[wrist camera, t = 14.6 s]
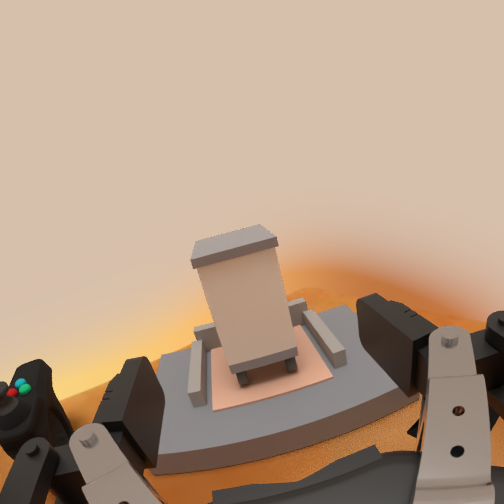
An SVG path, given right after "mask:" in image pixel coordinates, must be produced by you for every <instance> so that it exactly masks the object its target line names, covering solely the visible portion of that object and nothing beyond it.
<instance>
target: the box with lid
mask: <svg viewBox="0 0 504 504" xmlns="http://www.w3.org/2000/svg"><path fill="white" fill-rule="evenodd" d="M277 246H278V242H277V237H276V236H275V235H274V234H272V233H271V232H270V231H268V230H266V229H265V228H264V227H263V226H261V225H260V224H259V225H255V226H251V227H248V228H243V229H240V230H236V231H232V232H229V233H225V234H221V235H217V236H214V237H210V238H206V239H202V240H199V241H196V242H195V246H194V249H193V253H192V256H191V263H192V266H193V269H195V268H197V270H198V274H199V277H200V280H201V283H202V287H203V290H204V293H205V296H206V300H207V303H208V305H209V309H210V311H211V315H212V318H213V321H214V324H215V327H216V330H217V333H218V336H219V339H220V342H221V345H222V348H223V351H224V354H225V356H226V359H227V362H228V365H229V368H230V371H231V373H232V374H235V373H236V376H237V379H238V382H239V385H240V386H242V385H246V384H249V380H248V376H247V372H246V371H247V370H250V369H254V368H258V367H261V366H265V365H269V364H272V363H275V362H279V361H282V360H284V362H285V366H286V368H287V371H288V372H292V371H295V370H298V368H297V363H296V359H295V356H298V350H297V345H296V340H295V336H294V331H293V326H292V322H291V317H290V312H289V308H288V303H287V298H286V294H285V289H284V285H283V280H282V276H281V272H280V267H279V263H278V258H277V254H276V250H275V247H277Z"/></svg>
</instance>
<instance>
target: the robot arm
mask: <svg viewBox="0 0 504 504" xmlns="http://www.w3.org/2000/svg"><path fill="white" fill-rule="evenodd" d="M356 308H357V318H358V330H359V338H360V342H361V344H362V346H363V348H364V349H365V351H366V352H367V353H368V354H369V355H370V356H371V357H372V358H373V359H374V360H375V361H376V363H377V364H378V365H379V366H380V367H381V368H382V369H383V370H384V371H385V372H386V374H387V375H388V376H389V377H390V378H391V379H392V380H393V381H394V382H395V384H396V385H397V386H398V387H399V388H400V389H401V390H402V391H403V392H404V394H405V395H406V396H407V397H408V398H409V397H411V396H413V395H415V394H417V393H419V392H420V393H421V394H422V395H423V396H422V402H421V411H420V419H419V426H418V433H417V440H416V445H415V450H414V451H393V452H386V453H381V454H380V452H379V451H378V449H377V448H376V446H375V445H372V446H370V447H368V448H366V449H363V450H361V451H358V452H356V453H354V454H351V455H348V456H346V457H343V458H341V459H338V460H336V461H334V462H333V463H331V464H329V465H328V466H326V467H324V468H322V469H321V470H319V471H317V472H315V473H314V474H312V475H310V476H308V477H306V478H304V479H302V480H300V481H297V482H290V483H273V484H250V485H245V486H240V487H234V488H228V489H222V490H215V491H212V496H213V502H210V503H208V504H504V467H498V466H491V439H490V421H489V410H488V404H489V405H490V406H491V407H492V408H493V409H494V411H495V412H496V413H497V414H498V415H499V416H500V417H501V418H502V419H503V420H504V311H497V312H494V313H492V314H491V315H490V316H489V317H488V319H487V323H486V329H484V330H481V331H477V332H474V333H471V334H469V333H468V332H467V331H466V330H465V329H463V328H461V327H457V326H444V327H440V328H438V327H437V326H435V325H434V324H432V323H431V322H429V321H428V320H426V319H425V318H423V317H422V316H420V315H418V314H417V313H416V312H414V311H413V310H411V309H410V308H408V307H407V306H405V305H404V304H402V303H398V302H395V301H387V300H386V299H384V298H383V297H381V296H380V295H378V294H377V293H374V294H371V295H368V296H365V297H362V298H360V299H358V300H357V302H356ZM105 392H106V393H104V396H103V398H102V400H103V401H101V403H100V405H99V408H98V410H97V412H96V415H95V417H94V420H93V422H92V423H91V424H87V425H84V426H82V427H80V428H79V429H77V430H76V431H75V432H74V433H73V434H72V436H71V438H70V441H69V444H67V445H63V446H59V447H55V448H53V447H52V446H51V445H50V443H49V442H48V441H47V440H46V439H45V438H42V437H36V438H33V439H30V440H28V441H27V442H26V443H24V444H23V445H22V447H21V448H20V450H19V452H18V454H17V456H16V458H15V461H14V463H13V465H12V467H11V469H10V472H9V474H8V476H7V479H6V481H5V483H4V486H3V488H2V491H1V493H0V504H45V501H46V497H47V494H48V491H50V492H51V493H52V494H53V495H54V496H55V497H56V501H55V504H168V503H167V502H166V501H165V500H164V499H163V498H162V497H161V496H160V494H159V493H158V492H157V491H156V490H155V489H154V488H153V486H152V485H151V484H150V483H149V482H148V480H147V479H146V478H145V477H144V476H143V473H144V469H148V468H156V467H157V459H158V451H159V443H160V436H161V429H162V422H163V415H164V409H165V395H164V392H163V389H162V387H161V385H160V383H159V381H158V379H157V377H156V374H155V372H154V370H153V368H152V366H151V364H150V362H149V360H148V359H147V357H145V356H143V357H138V358H132V359H127V360H126V361H125V364H124V366H123V368H122V370H121V373H120V374H117V375H116V376H115V377H114V378H113V379H112V380H111V381H110V382H109V384H108V386H107V389H106V391H105Z"/></svg>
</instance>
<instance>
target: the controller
mask: <svg viewBox="0 0 504 504" xmlns="http://www.w3.org/2000/svg"><path fill="white" fill-rule="evenodd" d="M73 433H74V432H73V429H72V427H71V424H70V422H69V420H68V418H67V416H66V414H65V412H64V410H63V407H62V406H61V404H60V402H59V401H58V399H57V397H56V395H55V393H54V390H53V387H52V369H51V368H50V367H49V366H48V365H47V364H46V363H45V362H44V361H43V360H42V359H37V360H33V361H30V362H28V363H25V364H22V365H21V366H19V367H18V368H17V369H16V371H15V374H14V376H13V378H12V380H11V383H10V386H8V385H7V383H6V382H0V445H1V447H3V450H4V451H5V452H6V453H7V454H8V455H9V456H10V457H11V458H12V459H13V460H15V458H16V456H17V454H18V452H19V450H20V448H21V447H22V445H23V444H24V443H26V442H27V441H28V440H30V439H33V438H36V437H42V438H45V439H46V440H47V441H48V442H49V443H50V445H51V446H52V447H53V448H55V447H59V446H63V445H67V444H69V441H70V438H71V436H72V434H73Z"/></svg>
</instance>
